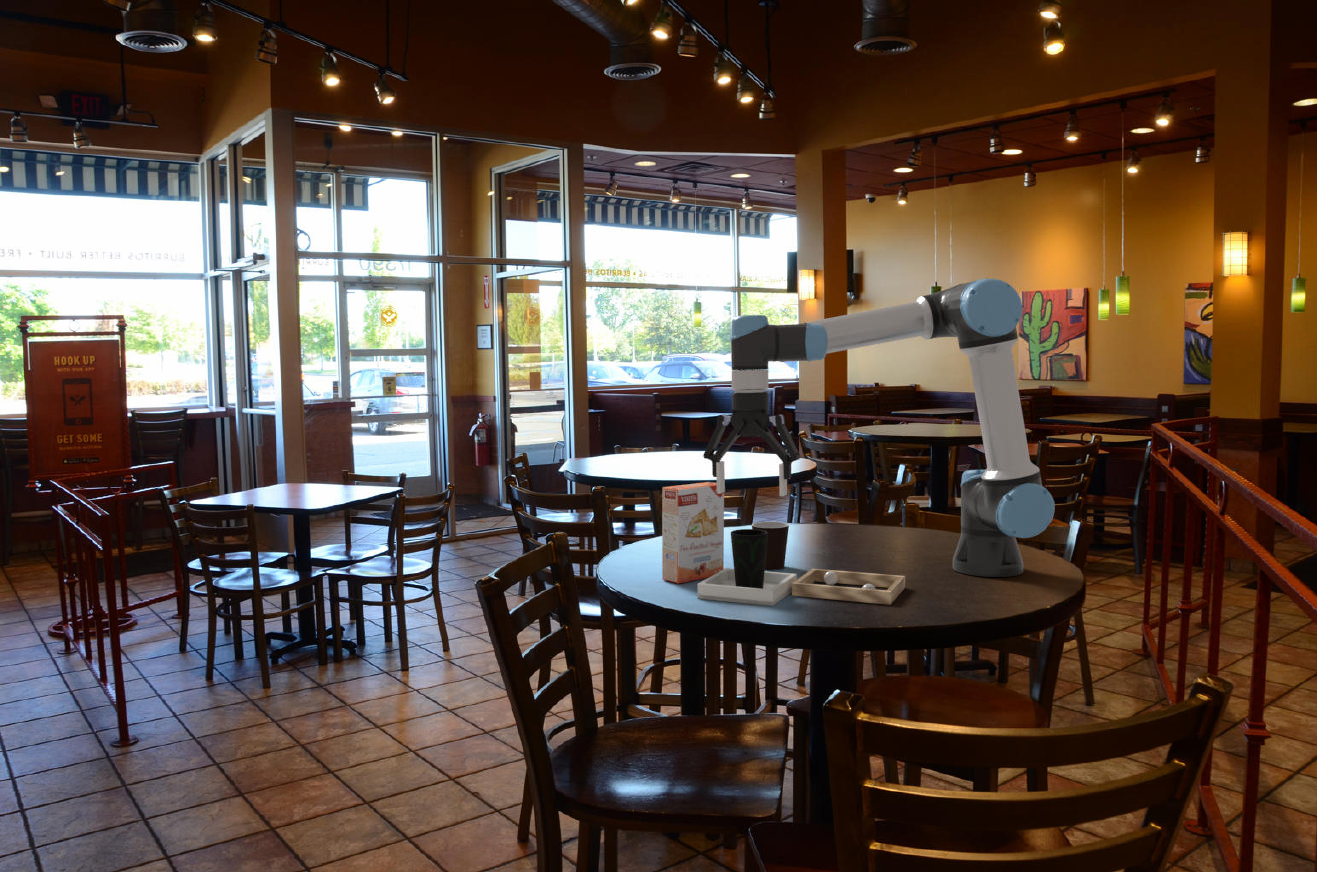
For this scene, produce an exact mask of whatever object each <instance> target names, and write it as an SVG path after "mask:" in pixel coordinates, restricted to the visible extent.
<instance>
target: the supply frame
mask: <svg viewBox="0 0 1317 872" xmlns="http://www.w3.org/2000/svg"><path fill="white" fill-rule="evenodd" d="M828 571H833V572H835V573H836V574H837V575H838V581H837V583H836V584H843V585H844V584H845V585H854V586H855V585H856V586H864V585H865V584H872V585H873V586H874V587H877V588H887V589H886V590H883V589H876V590H874V589H863V588H862V587H861V588H860V587H851V586H849V587H848V586H838V585H828V584H817V583H816V584H815V582H821V583H826V582H825V581H824V575H825V574H826V573H827V572H828ZM904 589H906V576H905V575H897V574H895V575H894V574H885V573H884V574H881V573H873V572H872V573H871V572H861V571H860V572H859V571H847V570H834V569H833V570H832V569H823V568H811V569H810V570H808V571H807V572H806V573H804V574H803V575H802V576H800V577H799V578H797V580H796V581H795V582H793V583H792V592H791V596H795V597H804V598H805V597H806V598H813V599H814V598H815V599H827V600H838V601H848V602H857V603H858V602H860V603H869V604H877V605H878V604H881V605H889V606H890V605H892V603H893V602H894V601H895V600H896V599H897V598H898V596H900V594H901V593H902V592H903V591H904Z"/></svg>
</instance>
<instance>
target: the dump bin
mask: <svg viewBox="0 0 1317 872" xmlns="http://www.w3.org/2000/svg"><path fill="white" fill-rule="evenodd" d="M797 577H798V575H797V573H789V572H778V571H777V572H776V571H767V570H765V572H764V584H763V589H760V588H749V587H738V586H736V583H735V573H734V568H730V567H725V568H724V569H723V570H722V571H720V572H718V573H716V574H714V575H713V576H711V577H709V578H705V579H703V580H702V581H701V582H698V583H697V599H698V600H708V601H710V600H711V601H717V602H718V601H720V602H729V603H730V602H731V603H739V604H748V605H758V606H759V605H760V606H768V607H769V606H771V607H774V606H775V605H777V604H778V603H779V602H780V601H782V600H783V599H784V598H786V596H788V595H790V594H792V583H793V582H795V581H796V580H797V579H798V578H797Z"/></svg>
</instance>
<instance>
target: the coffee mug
mask: <svg viewBox="0 0 1317 872" xmlns="http://www.w3.org/2000/svg"><path fill="white" fill-rule="evenodd" d="M789 527H790V525H789V523H786V522H783V521H782V522H781V521H780V522H779V521H758V522H754V523H753V522H752V524H751V529H758V530H764V531H767V532H768V538H767V549H766V561H765V571H777V570H784V568H785V564H786V553H787V545H788V538H789V537H788V536H789Z"/></svg>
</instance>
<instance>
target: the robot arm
mask: <svg viewBox="0 0 1317 872" xmlns="http://www.w3.org/2000/svg"><path fill="white" fill-rule="evenodd" d="M1022 304H1023V303H1022V300H1021V297H1020V295H1019V293H1018V292H1017V290H1016V289H1015V287H1013V286H1012V285H1011V284H1009V283H1008V282H1007V281H1004V280H1001V279H997V278H980V279H977V280H974V281H973V280H972V281H969V282H964V283H959V284H957V285H954V286H951V287H948V288H946V289H944V290H940V291H937V292H934V293H931V294H930V293H929V294H927V295H921V296H917V299H916V300H915V301H913V302H908V303H903V304H898V305H892V306H887V307H881V308H877V309H871V310H865V311H861V312H855V313H850V314H844V315H839V316H834V317H829V318H824V319H818V320H811V321H807V322H803V323H802V322H801V323H797V324H796V323H795V324H769V323H770V322H769V320H768V319H769V318H768V316H766V315H763V314H749V315H747V314H746V315H745V314H744V315H738V316H737V315H736V316H734V317H733V318H732V319H731V320H732V321H731V326H730V327H731V331H730V332H731V333H730V352H731V353H730V354H731V355H730V356H731V358H730V359H731V360H730V361H731V389H732V390H733V391H734V392H732V394H731V412H732V414H731V415H726V413H724V414H719V415H717V417H716V418H717V419H716V420H717V421H716V427H715V429H714V430H713V433H712V435H711V437H710V440H709V442H708V443H707V447H706V448H705V451H704V453H703V455H702V456H703V458H704V459H705V460H709V461H711V468H712V470H711V471H712V473H711V475H712V477H713V478H716V483H717V494H721V493H723V492H724V493H725V492H726V487H725V486H726V485H725V484H726V482H725V479H726V478H725V460H723V461H722V458H724V456H725V455H726V453H727V452H728V451H729V450H730V448H731V447H732V446H733V444H734V443H736V441H737V440H738V438H740V437H741V438H742V437H743V438H747V437H749V436H750V437H752V438H757V437H760V438H762V439H763V440H764V441H765V442H766V443H767V444H768V446H769V447H770V448H771V450H772V451H773V453H775V454H776V456H777V457H778V458H779V459H780V461H781V462H782V463H780V464H779V465H778V472H779V473H778V475H779V478H778V479H779V481H778V482H779V483H778V485H779V487H778V488H779V497H785V496H787V495H788V480H790V479H791V478H792V463H793V462H796V461H798V460H800V459H801V453H799V450H798V449H797V446H796V444H795V442H794V441H793V438H792V436H791V434H790V432H789V430H788V428H787V426H786V421H785V419H786V418H785V415H784V414H776V415H774V416H773V415H772V416H771V415H770V402H769V401H770V399H769V398H770V397H769V396H770V394H769V392H768V391H766V390H768V389H769V362H779V363H784V362H814V361H822V360H824V359H825V357H826V355H827V354H831V353H836V352H842V351H847V350H852V349H854V350H855V349H858V348H863V347H870V346H873V345H880V344H885V343H889V342H890V343H891V342H895V341H901V340H906V339H912V338H917V337H921V338H923V339H924V340H931V339H939V338H957V342H958V347H959V351H960V352H961V353H963V354H965V356H966V355H967V357H968V360H969V366H970V371H971V379H972V384H973V390H974V396H975V397H974V398H975V401H976V402H975V403H976V407H977V414H978V419H979V425H980V431H981V438H982V443H983V448H984V453H985V454H984V455H985V461H986V469H969V470H968V469H967V470H965V471H963V473H962V475H961V483H960V514H961V515H960V525H961V526H960V538H959V540H958V543H957V545H956V549H955V551H954V554H953V557H952V570H954V571H955V572H957V573H959V574H965V575H968V576H974V577H975V576H976V577H987V578H988V577H989V578H1005V577H1015V576H1019V575H1021V574H1023V573H1024V560H1023V558H1022V555H1021V552H1020V548H1019V545H1018V542H1017V539H1016V538H1019V539H1027V538H1028V539H1029V538H1033V537H1035V536H1038V535H1040V534H1042V532H1044V531H1045V530H1046V529H1047V527H1049V526H1050V524H1051V523H1052V521H1053V518H1054V515H1055V507H1056V505H1055V500H1054V498H1053V496H1052V494H1051V493H1050V491H1048V489H1047V488H1046V487H1044V486H1043V484H1042V476H1041V471H1040V467H1038V466H1037V465H1036V464H1034V463H1033V462H1032V461H1031V459H1030V453H1029V452H1030V450H1029V447H1028V441H1027V434H1026V428H1025V422H1024V416H1023V409H1022V404H1021V397H1020V392H1019V386H1018V380H1017V373H1016V366H1015V362H1014V361H1015V360H1014V357H1013V356H1014V355H1013V348H1014V346H1015V345H1016V344H1017V342H1018V340H1019V337H1018V331H1017V326H1018V324H1019V323H1020V320H1021V318H1022V315H1023V305H1022ZM730 423H731V425H732V426H733V427H734V428H733V429H732V431H731V432H729V435H728V436H727V437H726V438H725V440H724V441H723V443H722V444H721V445H720V447H718V445H719V443H720V441H721V438H722V436H723V434H724V432H725V430H726V427H727V426H728V425H729V424H730ZM770 423H772V425H773V426H774V427H776V430H777V433H778V434H779V436H780V439H781V441H782V442H783V445H784V447H785V448H784V447H783V445H781V444H780V442H779V441H778V440H777V438H776V437H775V436H774V435H773V433H772V431H771V430H770V429H769V425H770ZM717 448H718V449H717ZM785 449H786V450H785Z"/></svg>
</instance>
